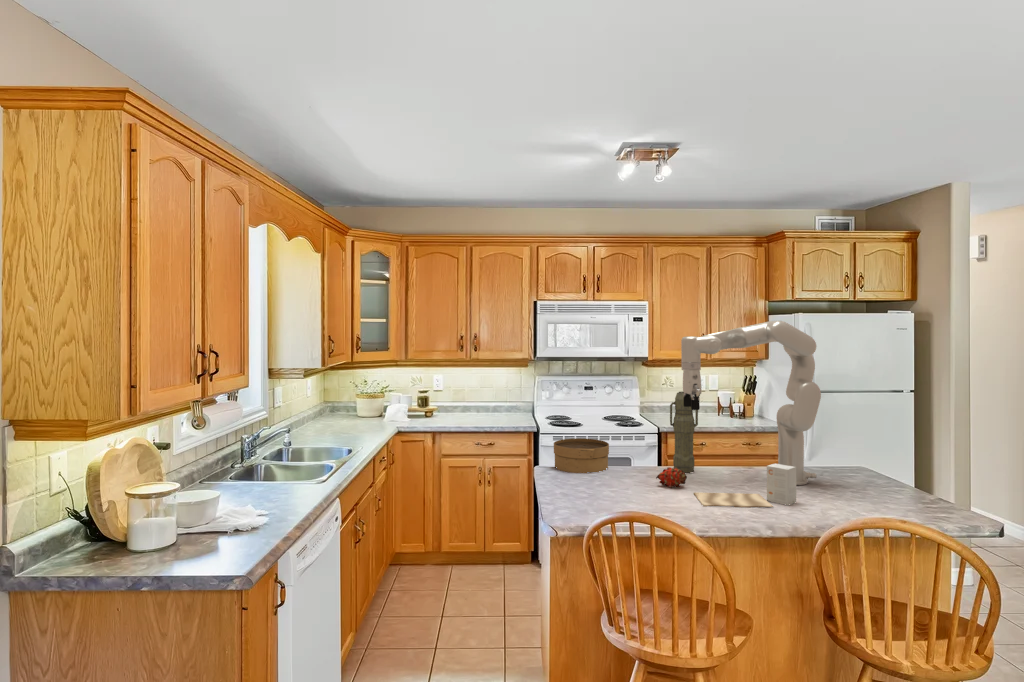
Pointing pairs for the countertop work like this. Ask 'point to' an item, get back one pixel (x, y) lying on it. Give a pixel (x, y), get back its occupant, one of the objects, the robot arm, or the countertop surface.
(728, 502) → the maple board
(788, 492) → the small box
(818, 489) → the countertop surface
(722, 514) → the countertop surface
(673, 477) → the dragon fruit
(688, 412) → the thermos
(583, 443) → the steamer basket
